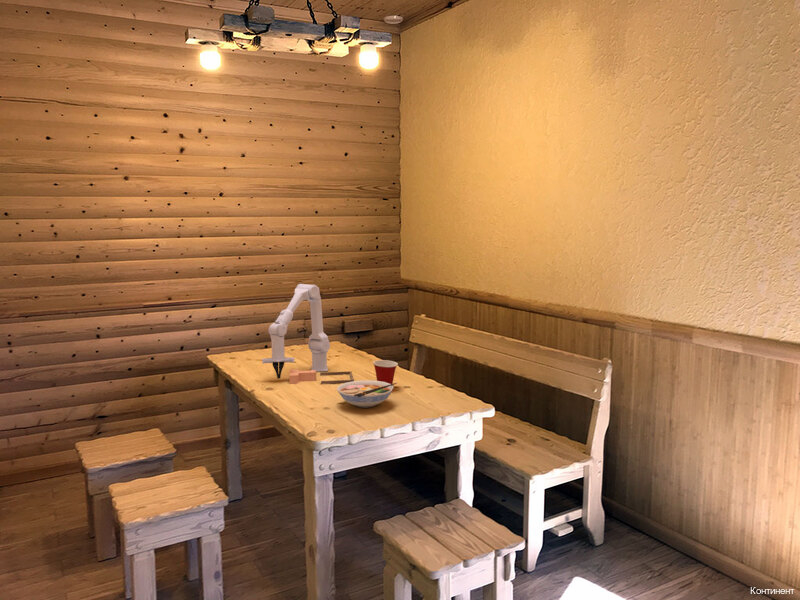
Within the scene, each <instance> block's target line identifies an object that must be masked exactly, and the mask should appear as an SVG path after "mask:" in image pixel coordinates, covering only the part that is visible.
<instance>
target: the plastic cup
mask: <svg viewBox="0 0 800 600" xmlns="http://www.w3.org/2000/svg"><path fill="white" fill-rule="evenodd" d="M372 363H373V366H374V371H375V376H376V381H381V382H386V383H389V384H392V385H393V384H394V383H393V382H394V377H395V373H396V369H397V367H398V365H399V363H398V362H396V361H394V360H389V359H388V360H387V359H386V360H385V359H378V360H374V361H373V362H372Z"/></svg>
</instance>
